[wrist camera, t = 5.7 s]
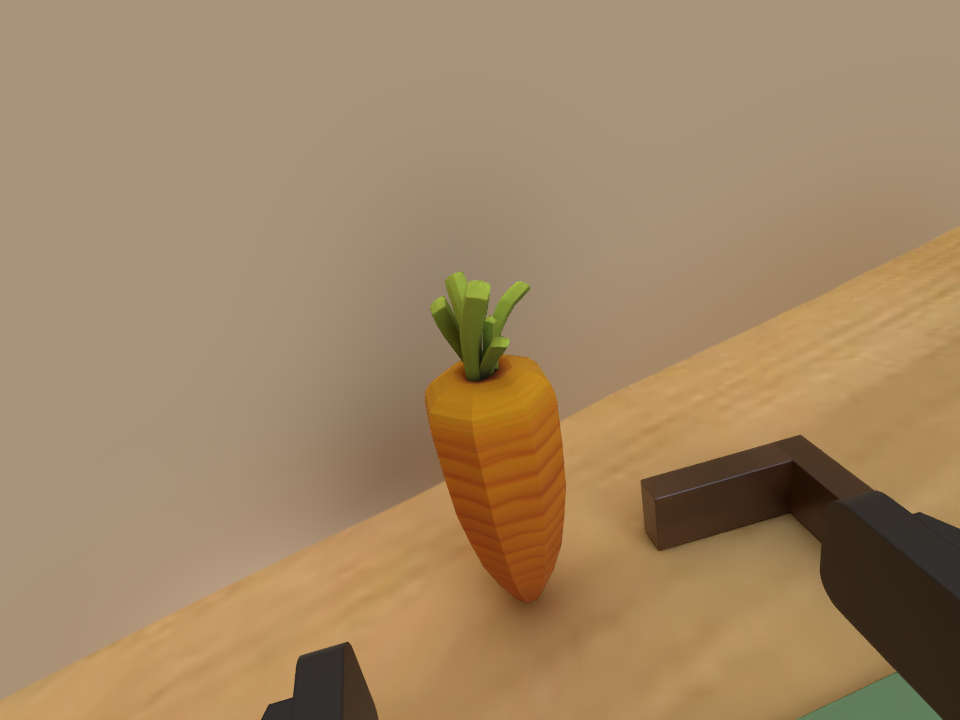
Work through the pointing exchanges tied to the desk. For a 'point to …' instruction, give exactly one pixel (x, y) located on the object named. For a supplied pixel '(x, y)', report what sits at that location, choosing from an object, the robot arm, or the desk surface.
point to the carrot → (498, 441)
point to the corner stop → (745, 491)
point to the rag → (878, 703)
